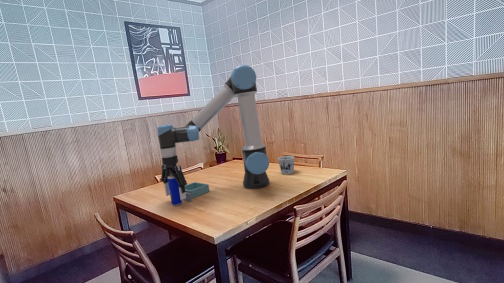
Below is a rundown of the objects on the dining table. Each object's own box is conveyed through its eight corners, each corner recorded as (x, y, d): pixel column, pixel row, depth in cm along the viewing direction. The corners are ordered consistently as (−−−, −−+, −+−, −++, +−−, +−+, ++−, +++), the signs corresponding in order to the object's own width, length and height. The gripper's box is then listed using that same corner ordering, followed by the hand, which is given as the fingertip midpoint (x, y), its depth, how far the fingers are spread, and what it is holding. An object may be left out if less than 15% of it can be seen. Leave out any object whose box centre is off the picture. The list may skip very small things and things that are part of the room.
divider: (192, 200, 143) (191, 193, 143) (190, 201, 142) (189, 194, 142) (175, 196, 154) (174, 189, 153) (173, 196, 153) (172, 189, 153)
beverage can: (172, 202, 143) (168, 174, 141) (182, 201, 144) (178, 173, 142) (170, 206, 138) (166, 177, 136) (181, 205, 139) (176, 176, 137)
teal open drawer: (209, 191, 156) (208, 184, 155) (190, 198, 147) (189, 191, 146) (195, 188, 164) (195, 181, 164) (177, 195, 155) (176, 188, 155)
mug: (278, 175, 171) (277, 160, 169) (280, 169, 185) (278, 155, 184) (295, 174, 169) (294, 158, 168) (296, 168, 184) (294, 153, 182)
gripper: (190, 155, 132) (196, 198, 135) (163, 153, 149) (169, 191, 152) (176, 159, 126) (183, 203, 129) (150, 156, 143) (156, 195, 146)
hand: (175, 196), depth 141 cm, fingers open, 13 cm apart
